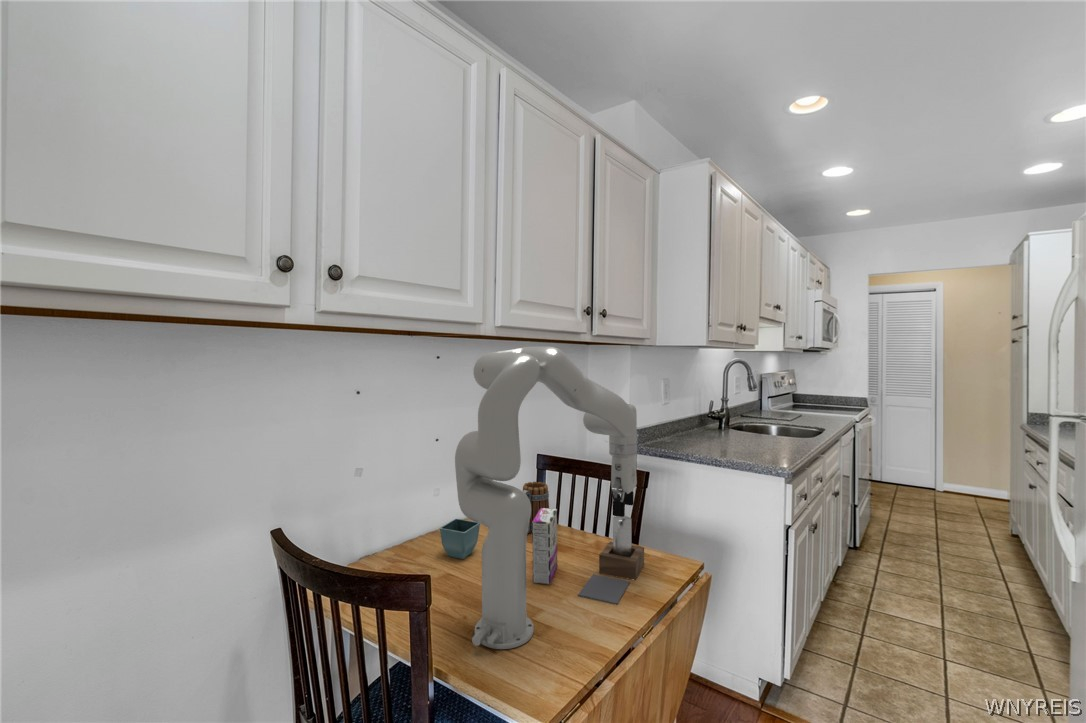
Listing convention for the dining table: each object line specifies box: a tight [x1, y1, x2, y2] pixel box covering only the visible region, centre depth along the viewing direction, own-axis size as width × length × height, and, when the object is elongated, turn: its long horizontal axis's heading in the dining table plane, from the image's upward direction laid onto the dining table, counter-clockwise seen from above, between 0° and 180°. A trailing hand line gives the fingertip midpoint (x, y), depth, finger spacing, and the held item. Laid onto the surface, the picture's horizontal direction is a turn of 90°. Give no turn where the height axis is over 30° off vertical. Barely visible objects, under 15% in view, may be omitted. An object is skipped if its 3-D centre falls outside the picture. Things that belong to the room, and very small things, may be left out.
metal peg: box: [612, 515, 632, 557], centre depth 134 cm, size 5×5×14 cm
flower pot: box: [439, 518, 481, 560], centre depth 143 cm, size 9×9×9 cm
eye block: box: [598, 541, 645, 581], centre depth 134 cm, size 10×10×5 cm
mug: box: [522, 481, 550, 534], centre depth 162 cm, size 16×11×15 cm
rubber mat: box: [577, 573, 631, 606], centre depth 122 cm, size 12×10×1 cm
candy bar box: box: [531, 507, 558, 585], centre depth 130 cm, size 11×5×16 cm, turn 168°
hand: (623, 510), depth 134 cm, fingers open, 9 cm apart
